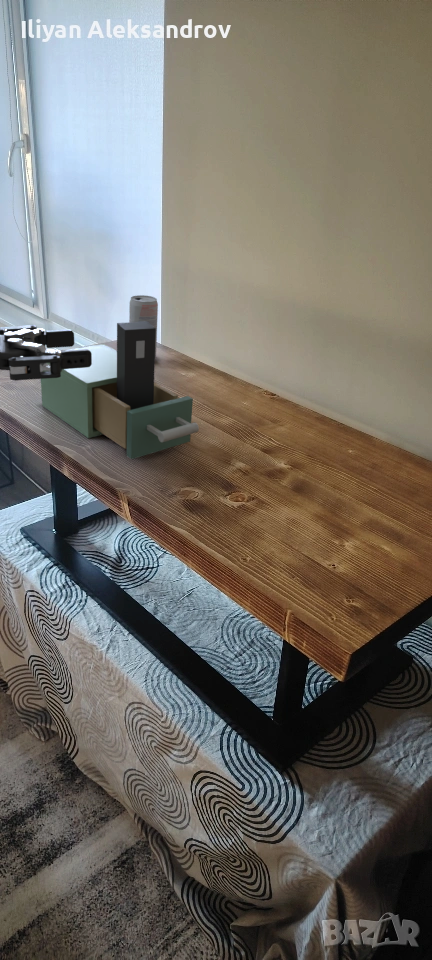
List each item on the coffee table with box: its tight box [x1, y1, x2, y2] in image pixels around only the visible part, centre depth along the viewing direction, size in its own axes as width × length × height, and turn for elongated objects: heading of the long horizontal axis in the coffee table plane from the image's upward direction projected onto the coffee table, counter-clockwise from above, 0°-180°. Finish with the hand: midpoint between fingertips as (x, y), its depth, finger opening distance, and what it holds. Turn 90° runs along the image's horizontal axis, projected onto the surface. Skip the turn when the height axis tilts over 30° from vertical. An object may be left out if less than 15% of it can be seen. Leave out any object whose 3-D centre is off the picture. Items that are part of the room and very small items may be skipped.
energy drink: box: [128, 294, 159, 361], centre depth 121 cm, size 5×5×12 cm
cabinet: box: [40, 343, 117, 439], centre depth 98 cm, size 14×12×9 cm
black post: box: [116, 321, 156, 410], centre depth 89 cm, size 5×5×15 cm
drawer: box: [92, 381, 200, 460], centre depth 90 cm, size 17×10×7 cm, turn 41°
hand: (81, 347), depth 83 cm, fingers open, 8 cm apart
